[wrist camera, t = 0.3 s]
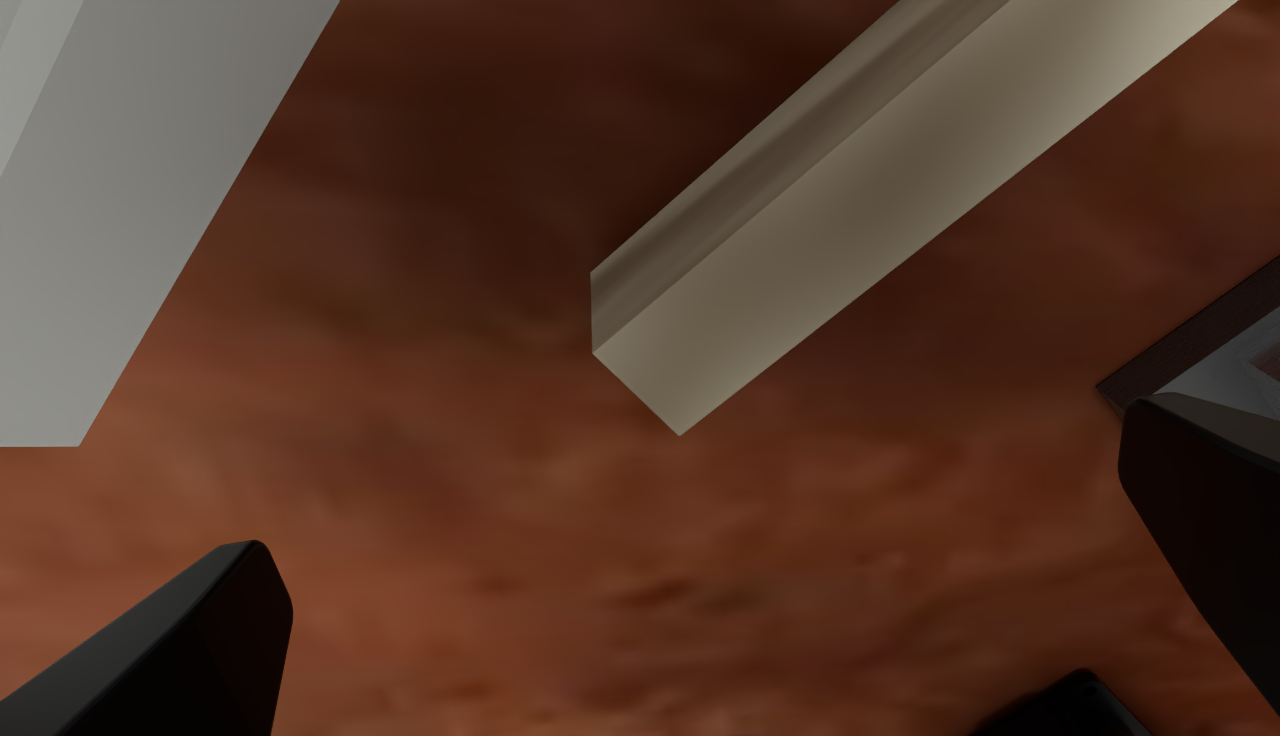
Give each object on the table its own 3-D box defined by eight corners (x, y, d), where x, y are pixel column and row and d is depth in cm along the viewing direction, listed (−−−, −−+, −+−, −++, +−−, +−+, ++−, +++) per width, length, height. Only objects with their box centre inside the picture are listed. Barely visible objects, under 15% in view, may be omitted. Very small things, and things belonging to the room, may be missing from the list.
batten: (1283, -176, 18) (1510, -212, 14) (660, 340, 23) (679, 436, 18) (1232, -297, 17) (1458, -379, 13) (590, 269, 22) (592, 353, 17)
